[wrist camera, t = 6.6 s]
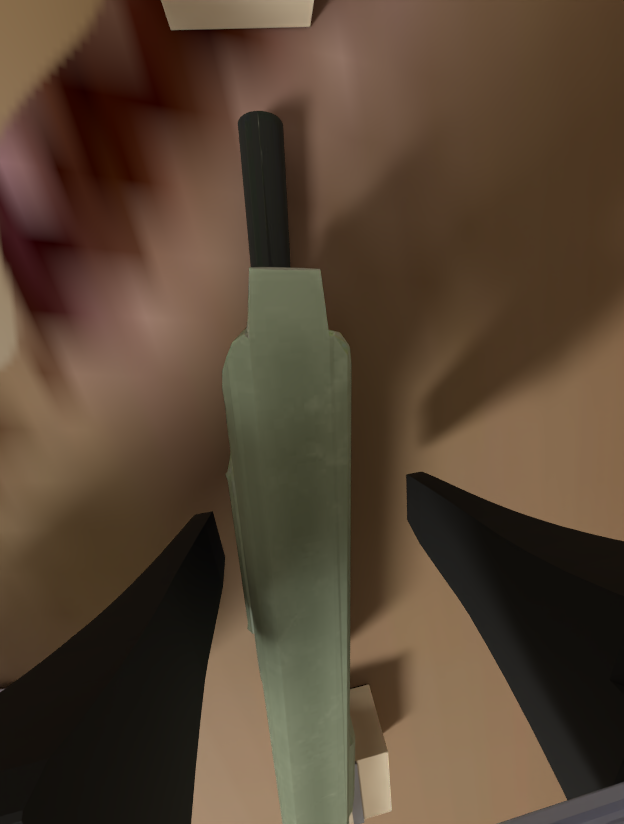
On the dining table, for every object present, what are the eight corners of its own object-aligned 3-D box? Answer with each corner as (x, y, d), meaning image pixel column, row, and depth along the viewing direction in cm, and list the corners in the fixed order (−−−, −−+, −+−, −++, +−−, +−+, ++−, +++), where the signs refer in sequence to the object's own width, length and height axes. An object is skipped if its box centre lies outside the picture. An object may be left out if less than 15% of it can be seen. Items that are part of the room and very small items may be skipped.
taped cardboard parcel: (316, 757, 20) (325, 834, 17) (96, -342, 6) (-48, -901, 3) (374, 741, 20) (392, 813, 17) (278, -323, 7) (288, -807, 4)
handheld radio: (268, 673, 17) (203, 141, 9) (324, 660, 18) (306, 148, 10) (277, 880, 11) (103, -221, 3) (363, 849, 11) (397, -150, 4)
